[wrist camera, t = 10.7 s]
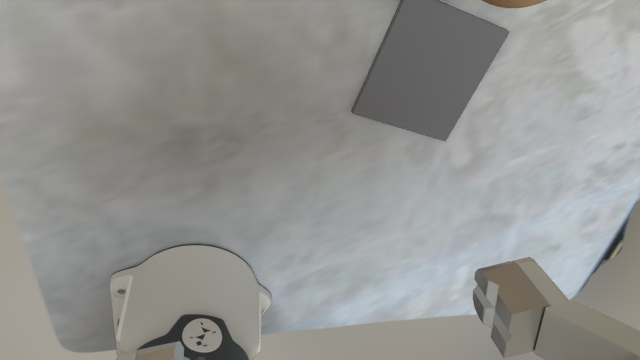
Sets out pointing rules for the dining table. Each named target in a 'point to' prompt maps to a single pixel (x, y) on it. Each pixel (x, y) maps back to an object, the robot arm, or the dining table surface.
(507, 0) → the lid
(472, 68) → the mat
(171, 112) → the dining table surface
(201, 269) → the robot arm
